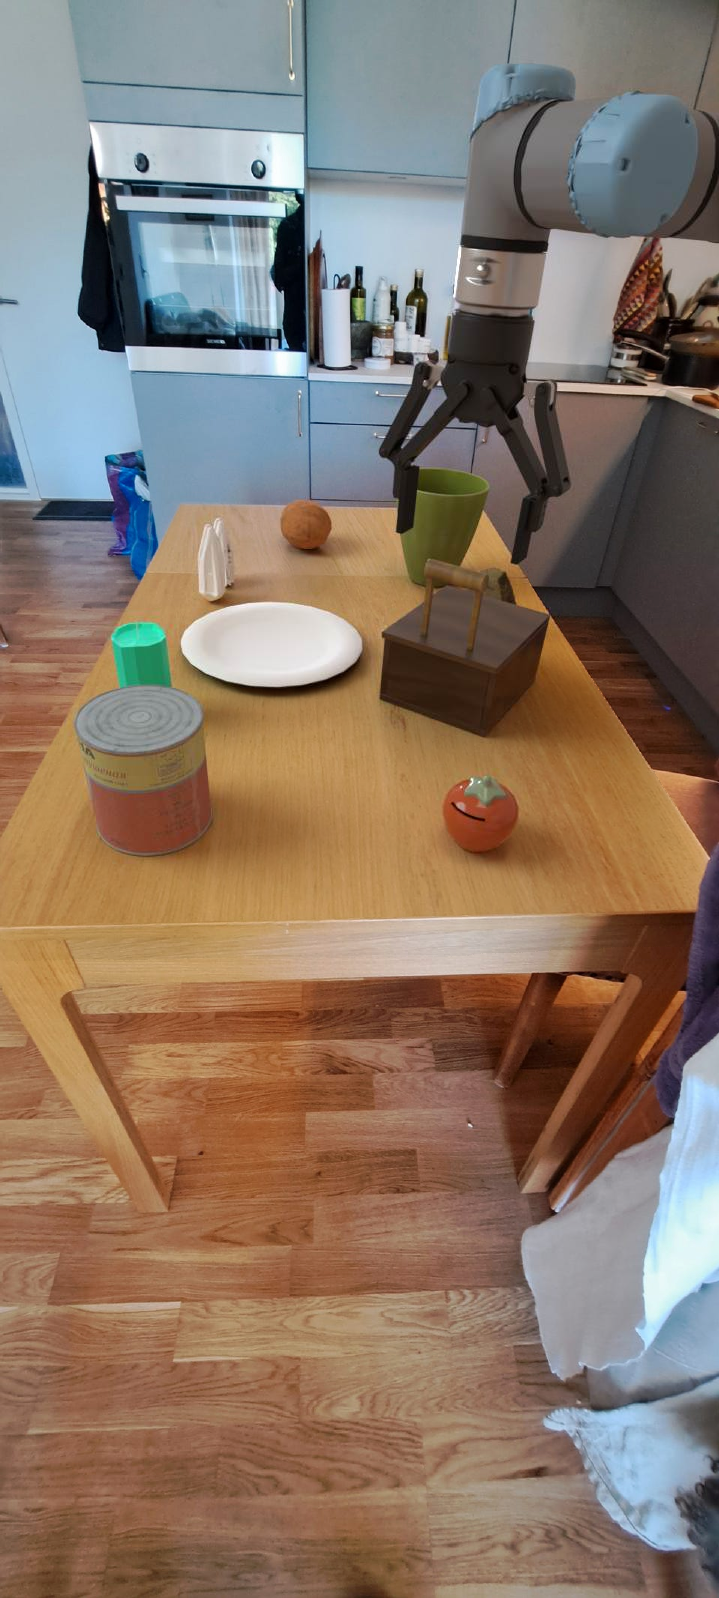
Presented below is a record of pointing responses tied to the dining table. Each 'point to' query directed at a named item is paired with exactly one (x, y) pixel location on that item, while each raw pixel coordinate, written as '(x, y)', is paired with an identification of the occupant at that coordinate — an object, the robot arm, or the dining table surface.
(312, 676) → the plate
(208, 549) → the shaker set
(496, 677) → the dark wooden box
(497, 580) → the rock
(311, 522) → the brown coconut
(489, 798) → the tomato
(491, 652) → the lid
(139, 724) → the canned food
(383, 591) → the dining table surface
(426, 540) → the flower pot
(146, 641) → the candle
